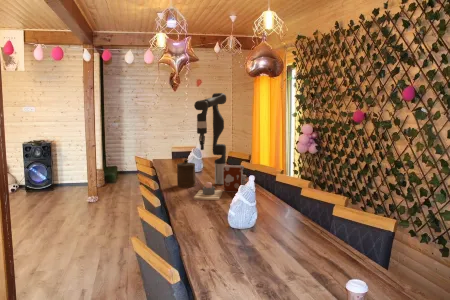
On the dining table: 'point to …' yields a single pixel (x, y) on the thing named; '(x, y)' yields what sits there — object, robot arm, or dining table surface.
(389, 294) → the dining table surface
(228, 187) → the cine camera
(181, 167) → the wooden container
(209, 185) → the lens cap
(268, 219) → the dining table surface
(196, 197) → the mount board
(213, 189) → the lens barrel
